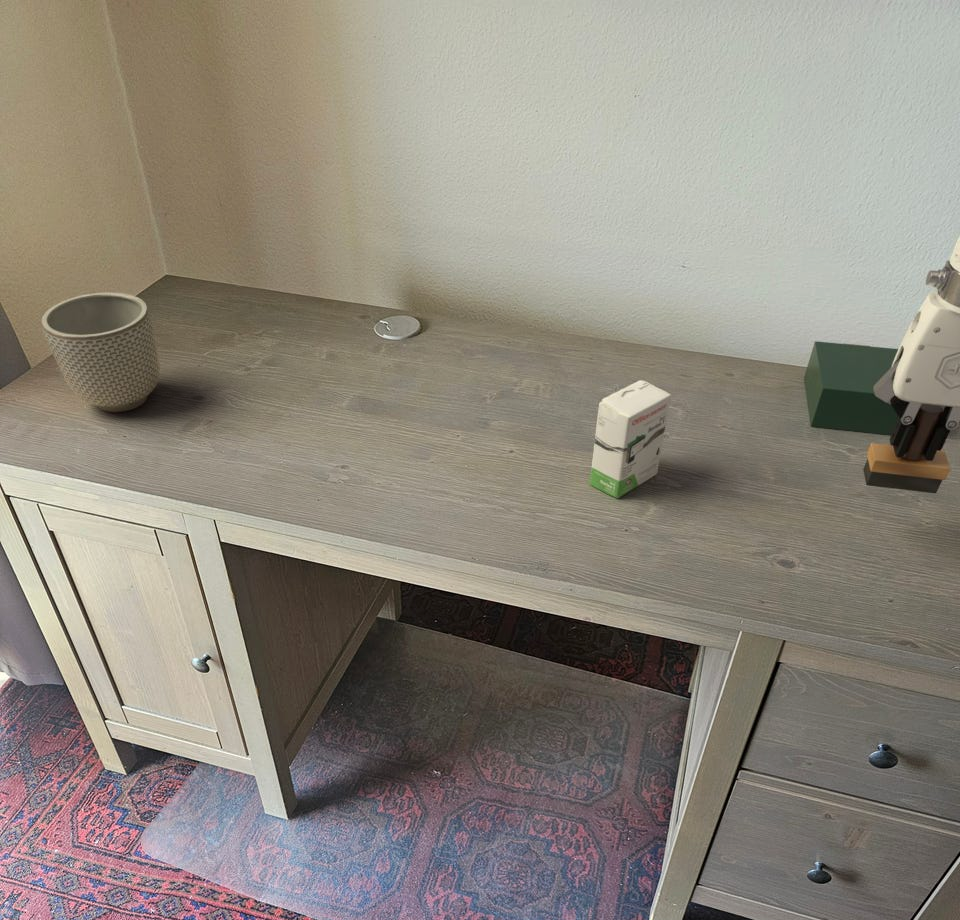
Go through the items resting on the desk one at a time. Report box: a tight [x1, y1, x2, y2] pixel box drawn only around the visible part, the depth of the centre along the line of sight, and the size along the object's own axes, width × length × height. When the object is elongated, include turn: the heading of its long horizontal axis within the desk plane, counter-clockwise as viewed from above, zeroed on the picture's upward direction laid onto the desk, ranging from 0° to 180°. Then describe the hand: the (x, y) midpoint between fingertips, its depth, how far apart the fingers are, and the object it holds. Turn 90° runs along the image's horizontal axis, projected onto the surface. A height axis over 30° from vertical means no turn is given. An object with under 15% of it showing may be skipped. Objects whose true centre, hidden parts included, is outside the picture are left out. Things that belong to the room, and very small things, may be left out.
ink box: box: [589, 379, 672, 499], centre depth 108 cm, size 9×5×12 cm, turn 134°
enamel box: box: [803, 341, 899, 436], centre depth 123 cm, size 14×14×6 cm
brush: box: [862, 404, 952, 494], centre depth 95 cm, size 8×4×10 cm, turn 79°
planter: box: [40, 291, 161, 413], centre depth 120 cm, size 14×14×13 cm
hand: (912, 451), depth 95 cm, fingers closed on brush, 2 cm apart
